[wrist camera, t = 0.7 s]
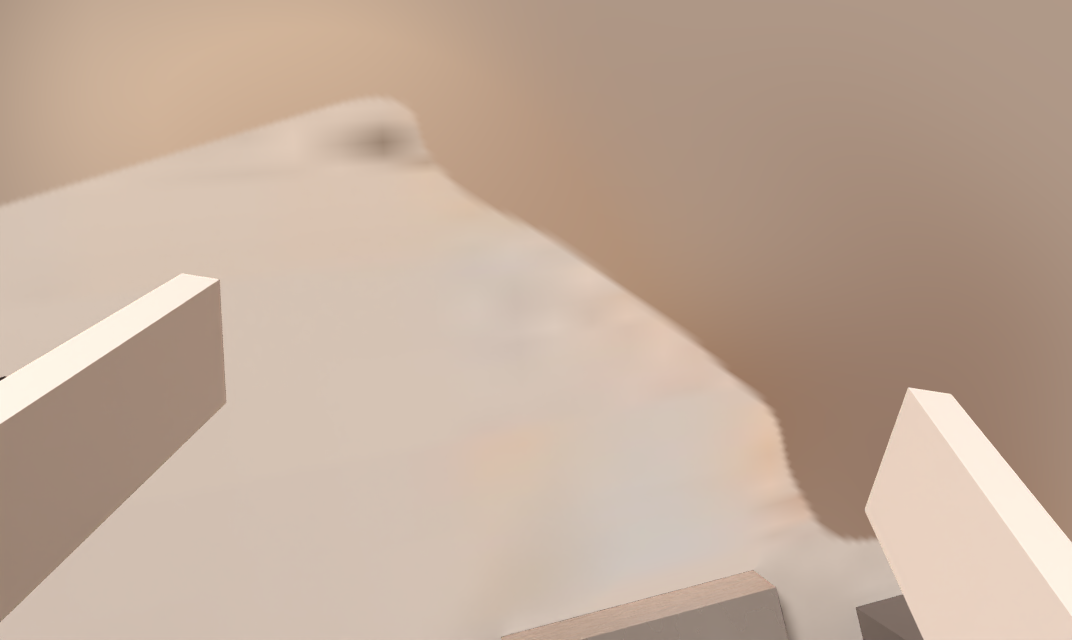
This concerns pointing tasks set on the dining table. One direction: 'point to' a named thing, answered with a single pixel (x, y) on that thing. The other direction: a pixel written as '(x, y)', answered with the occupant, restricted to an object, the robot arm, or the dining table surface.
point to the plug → (888, 620)
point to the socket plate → (681, 615)
